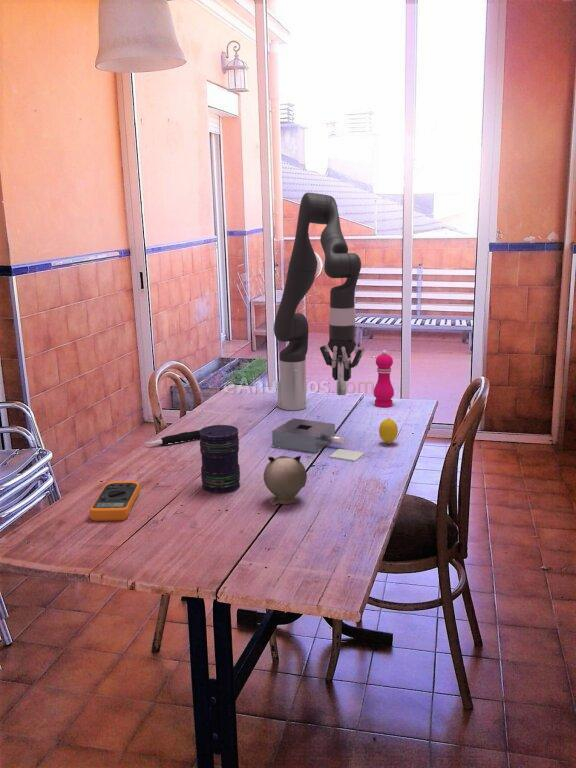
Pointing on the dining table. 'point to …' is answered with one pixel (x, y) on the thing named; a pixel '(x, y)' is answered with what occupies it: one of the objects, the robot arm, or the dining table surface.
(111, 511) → the multimeter
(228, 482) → the camera lens
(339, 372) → the chuck key
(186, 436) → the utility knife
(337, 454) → the mat
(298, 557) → the dining table surface
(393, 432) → the lemon
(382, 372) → the pepper mill
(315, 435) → the block
